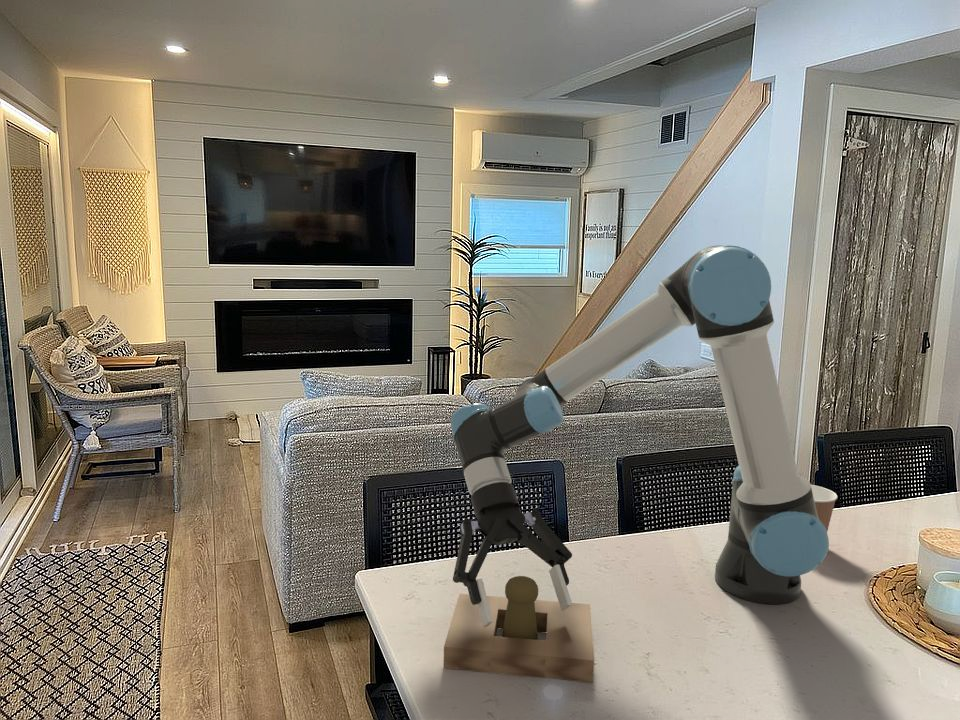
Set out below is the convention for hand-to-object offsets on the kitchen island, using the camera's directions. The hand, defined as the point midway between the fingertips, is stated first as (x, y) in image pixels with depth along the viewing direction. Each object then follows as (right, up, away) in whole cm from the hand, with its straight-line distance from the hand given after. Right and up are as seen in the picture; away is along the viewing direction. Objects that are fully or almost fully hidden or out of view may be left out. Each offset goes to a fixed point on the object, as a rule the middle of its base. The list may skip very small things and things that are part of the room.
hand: (528, 616), depth 109 cm
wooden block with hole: (-1, -6, +3) cm, 7 cm away
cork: (-1, -6, +3) cm, 7 cm away
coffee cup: (+62, 0, +43) cm, 75 cm away
